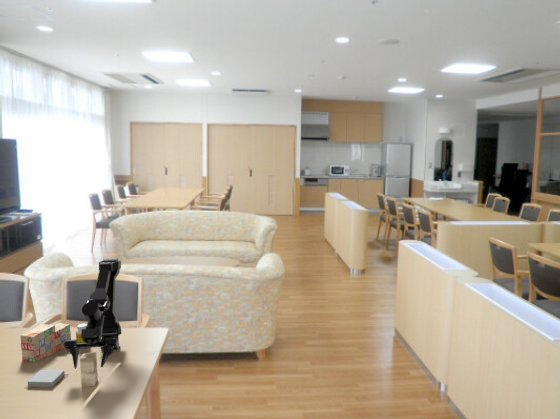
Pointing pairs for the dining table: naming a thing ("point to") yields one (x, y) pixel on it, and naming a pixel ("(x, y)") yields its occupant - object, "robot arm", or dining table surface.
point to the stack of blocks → (44, 341)
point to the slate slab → (46, 378)
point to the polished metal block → (88, 369)
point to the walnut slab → (50, 387)
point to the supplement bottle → (78, 332)
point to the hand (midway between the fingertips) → (88, 367)
